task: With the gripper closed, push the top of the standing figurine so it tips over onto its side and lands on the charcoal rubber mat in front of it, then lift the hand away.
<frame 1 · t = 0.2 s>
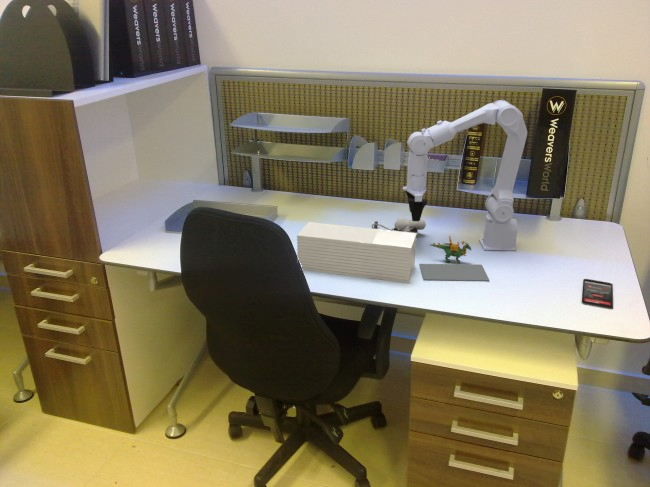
hand: (414, 216, 175), 10 cm above the table, tool pointing down, fingers open, 7 cm apart
stack of papers: (356, 269, 165), on the table
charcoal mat: (453, 272, 162), on the table
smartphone: (597, 295, 150), on the table
figurine: (448, 262, 169), on the table
clip-on lamp: (395, 236, 188), on the table
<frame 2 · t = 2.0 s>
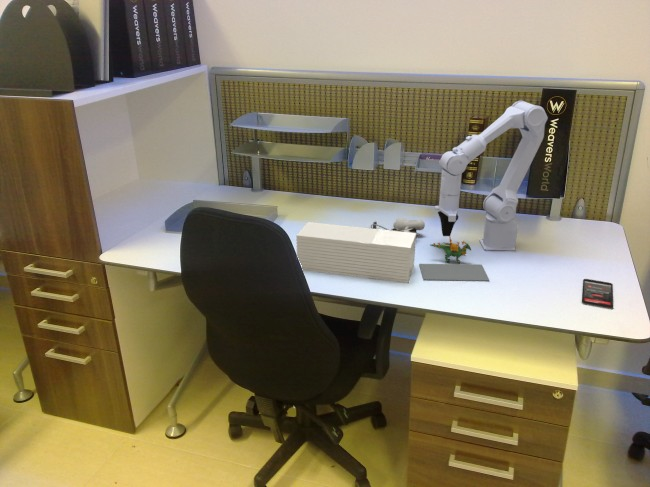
hand: (446, 235, 174), 5 cm above the table, tool pointing down, fingers closed
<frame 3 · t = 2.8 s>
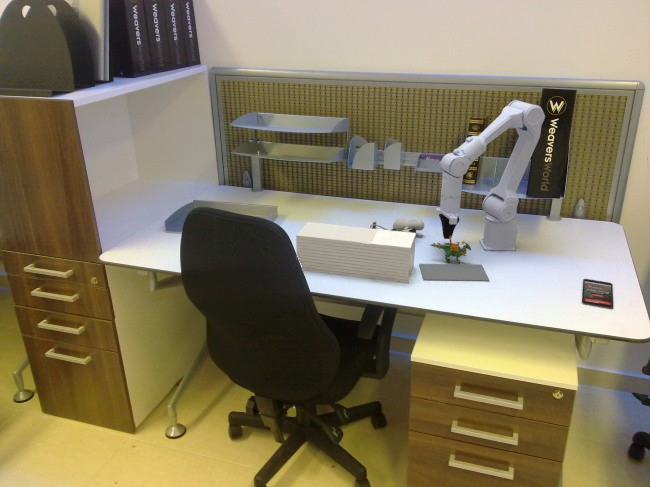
hand: (447, 238, 172), 5 cm above the table, tool pointing down, fingers closed
nothing on the table moved.
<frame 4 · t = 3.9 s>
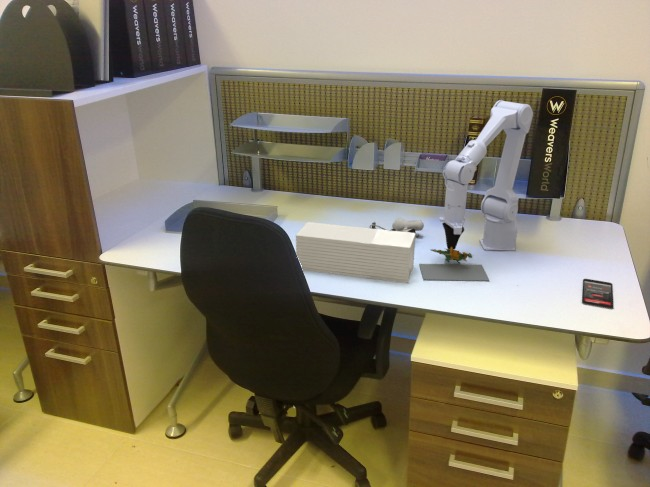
hand: (451, 248, 165), 5 cm above the table, tool pointing down, fingers closed
figurine: (449, 259, 168), point 1 cm above the table, touching gripper
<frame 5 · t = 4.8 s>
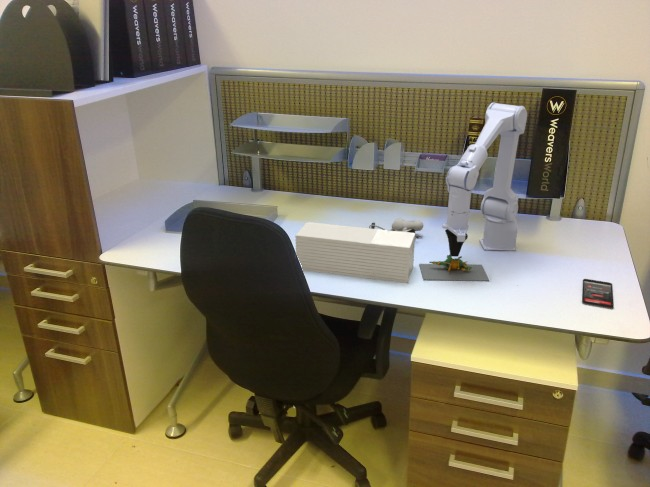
hand: (454, 255, 161), 5 cm above the table, tool pointing down, fingers closed
figurine: (450, 257, 167), point 2 cm above the table, touching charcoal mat
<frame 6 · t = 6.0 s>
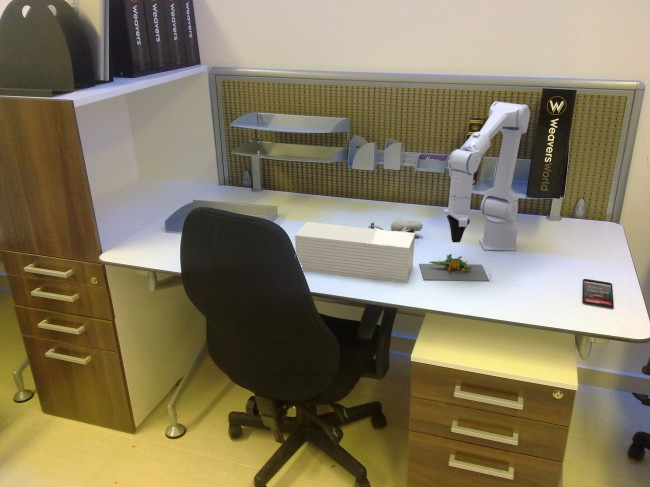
hand: (455, 241, 159), 9 cm above the table, tool pointing down, fingers closed
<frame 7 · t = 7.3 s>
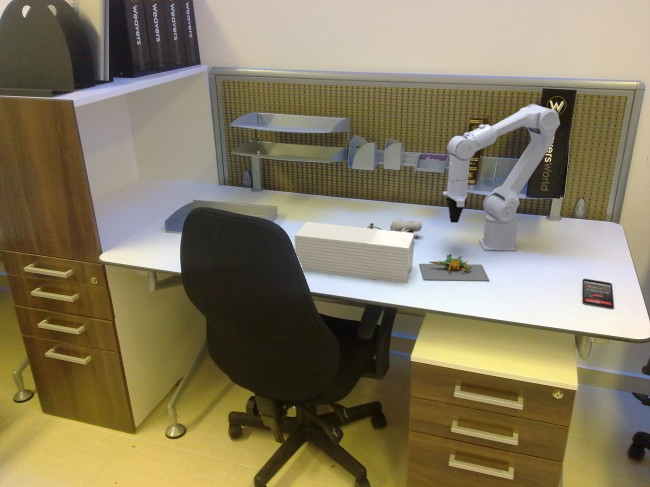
hand: (454, 221, 172), 9 cm above the table, tool pointing down, fingers closed
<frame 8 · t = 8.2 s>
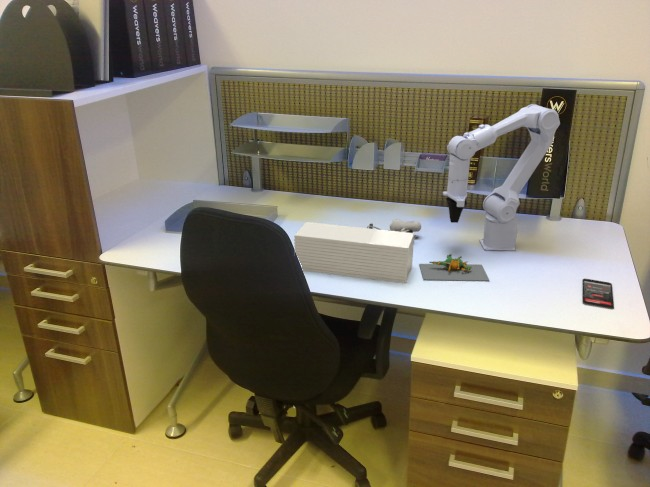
hand: (454, 221, 172), 9 cm above the table, tool pointing down, fingers closed
at the end: figurine tilted 91°; figurine inside the target area (2.6 cm from its centre), point 1.9 cm above the table; figurine touching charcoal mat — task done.
